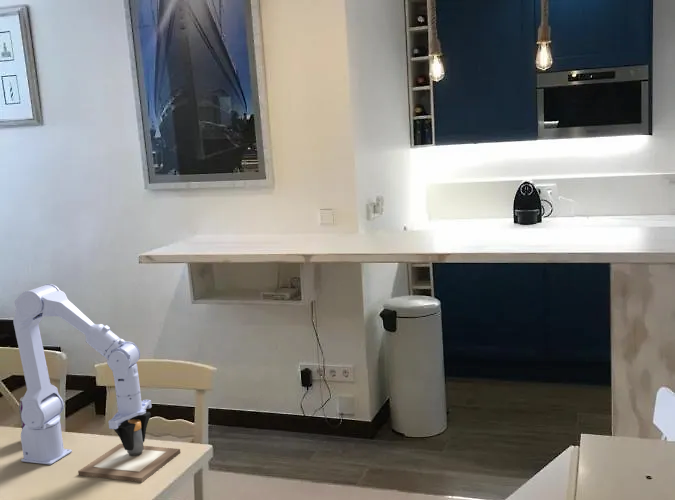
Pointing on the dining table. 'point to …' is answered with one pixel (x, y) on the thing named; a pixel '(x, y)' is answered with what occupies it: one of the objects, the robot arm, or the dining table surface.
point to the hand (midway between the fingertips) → (134, 445)
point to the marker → (136, 438)
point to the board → (129, 463)
